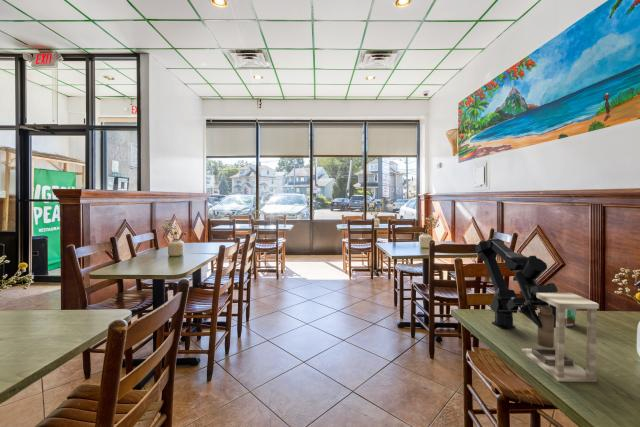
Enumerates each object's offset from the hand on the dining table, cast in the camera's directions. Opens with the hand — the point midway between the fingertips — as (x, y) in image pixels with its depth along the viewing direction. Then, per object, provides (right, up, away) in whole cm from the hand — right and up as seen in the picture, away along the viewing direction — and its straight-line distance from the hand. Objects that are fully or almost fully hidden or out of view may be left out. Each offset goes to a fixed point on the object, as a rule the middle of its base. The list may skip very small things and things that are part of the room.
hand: (548, 327), depth 103 cm
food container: (+30, -9, +29) cm, 43 cm away
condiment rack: (0, -11, -3) cm, 12 cm away
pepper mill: (0, -7, +2) cm, 7 cm away
